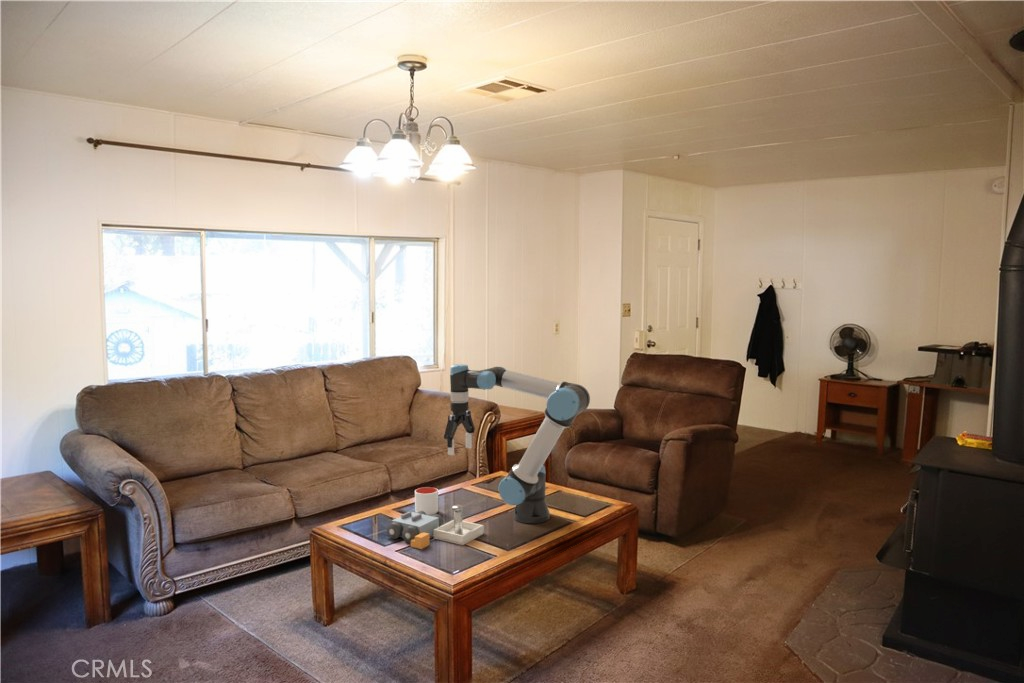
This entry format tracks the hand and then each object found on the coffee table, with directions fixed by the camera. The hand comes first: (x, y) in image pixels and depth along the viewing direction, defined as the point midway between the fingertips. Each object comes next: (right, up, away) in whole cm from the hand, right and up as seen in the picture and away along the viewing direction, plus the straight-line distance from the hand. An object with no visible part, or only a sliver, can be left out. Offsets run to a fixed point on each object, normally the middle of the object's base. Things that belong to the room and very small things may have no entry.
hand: (460, 451), depth 284 cm
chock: (-13, -31, -29) cm, 44 cm away
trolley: (-16, -30, -17) cm, 38 cm away
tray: (+1, -30, -19) cm, 36 cm away
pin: (+1, -29, -19) cm, 35 cm away
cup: (-15, -28, +8) cm, 33 cm away
